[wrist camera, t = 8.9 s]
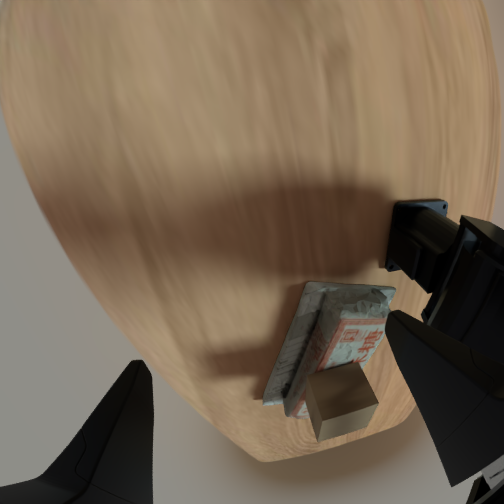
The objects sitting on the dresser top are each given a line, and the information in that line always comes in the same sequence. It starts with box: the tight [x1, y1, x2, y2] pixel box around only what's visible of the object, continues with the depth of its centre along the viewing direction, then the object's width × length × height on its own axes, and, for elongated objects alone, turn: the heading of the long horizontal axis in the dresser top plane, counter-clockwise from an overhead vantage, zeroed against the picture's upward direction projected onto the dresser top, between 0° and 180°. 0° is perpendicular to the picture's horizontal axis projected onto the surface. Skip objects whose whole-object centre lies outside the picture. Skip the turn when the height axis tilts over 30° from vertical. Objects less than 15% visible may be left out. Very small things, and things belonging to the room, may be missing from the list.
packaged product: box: [263, 281, 396, 419], centre depth 26 cm, size 18×5×10 cm
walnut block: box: [305, 362, 379, 442], centre depth 22 cm, size 5×5×5 cm
